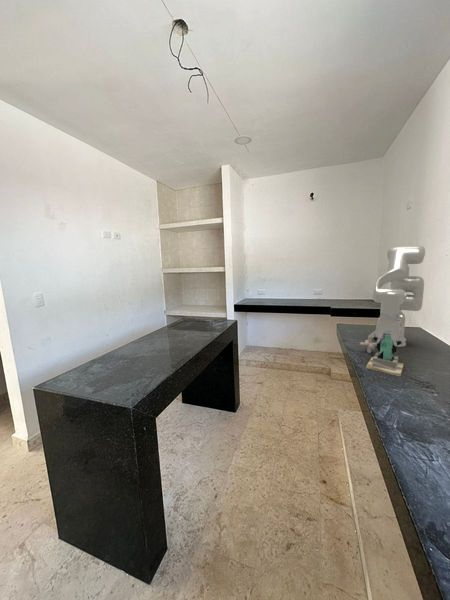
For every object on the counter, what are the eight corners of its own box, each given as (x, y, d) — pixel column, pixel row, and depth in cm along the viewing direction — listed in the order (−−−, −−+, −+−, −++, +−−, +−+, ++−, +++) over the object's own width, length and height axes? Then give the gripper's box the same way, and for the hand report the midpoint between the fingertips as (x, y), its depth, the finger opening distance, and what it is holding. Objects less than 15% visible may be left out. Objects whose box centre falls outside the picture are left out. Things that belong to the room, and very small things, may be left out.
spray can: (390, 362, 124) (394, 324, 120) (392, 366, 119) (396, 327, 115) (378, 360, 126) (380, 323, 122) (379, 364, 121) (382, 326, 117)
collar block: (371, 358, 132) (372, 349, 131) (403, 365, 123) (404, 356, 122) (366, 368, 122) (366, 358, 121) (400, 376, 113) (401, 366, 112)
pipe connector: (382, 356, 135) (383, 339, 133) (362, 355, 137) (363, 338, 135) (375, 349, 145) (376, 333, 143) (356, 348, 147) (357, 333, 145)
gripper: (411, 317, 115) (408, 353, 118) (370, 312, 126) (368, 345, 129) (410, 320, 110) (406, 358, 113) (367, 315, 121) (365, 350, 124)
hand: (386, 351), depth 121 cm, fingers closed on spray can, 5 cm apart
